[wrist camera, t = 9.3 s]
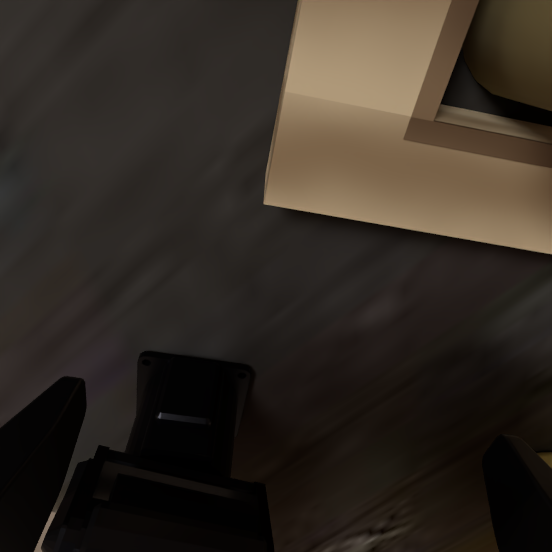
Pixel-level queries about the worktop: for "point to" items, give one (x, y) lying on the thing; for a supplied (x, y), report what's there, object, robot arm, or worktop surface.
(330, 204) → the socket board
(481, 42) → the cork
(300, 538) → the worktop surface
